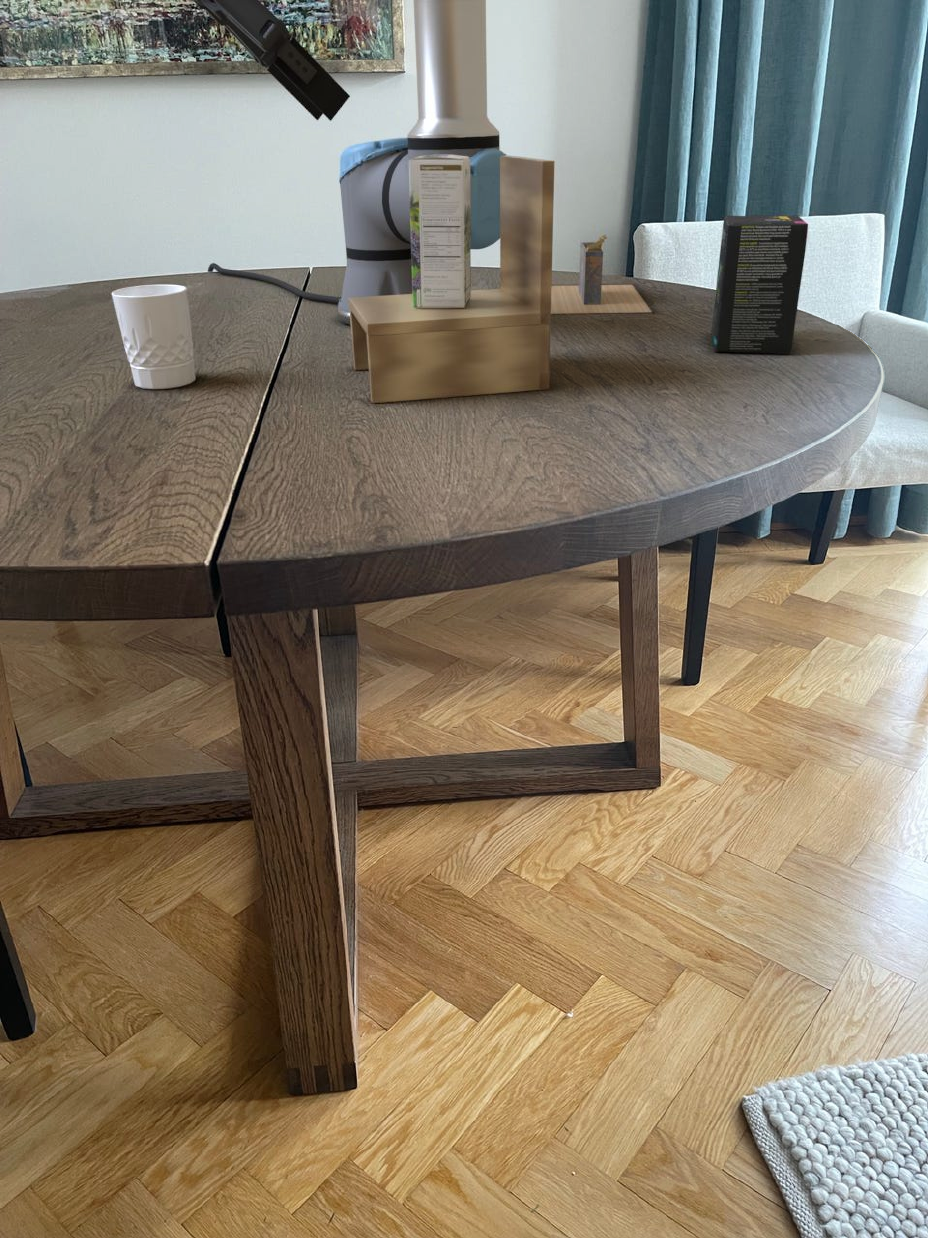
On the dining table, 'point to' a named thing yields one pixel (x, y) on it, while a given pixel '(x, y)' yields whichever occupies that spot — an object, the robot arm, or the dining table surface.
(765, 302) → the tampon box
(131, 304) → the white cup
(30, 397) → the dining table surface
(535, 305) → the shelf
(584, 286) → the ruin model on sheet
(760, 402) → the dining table surface
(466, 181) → the syrup box
